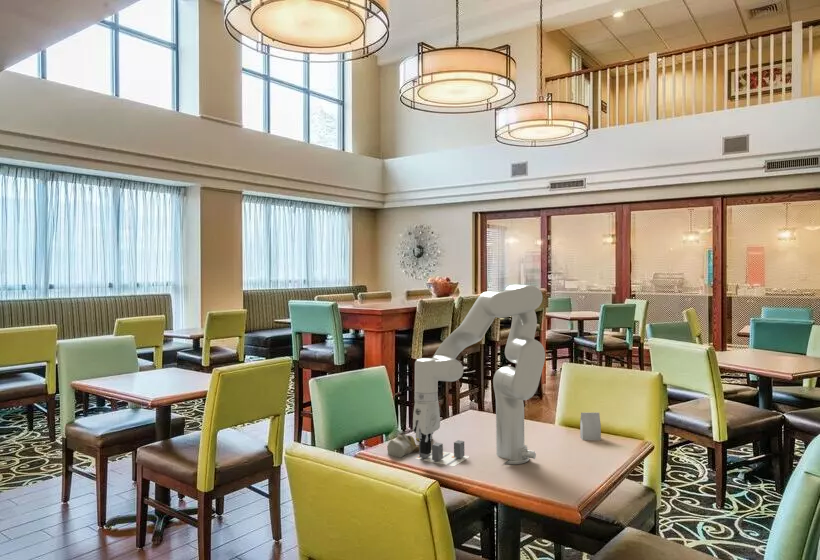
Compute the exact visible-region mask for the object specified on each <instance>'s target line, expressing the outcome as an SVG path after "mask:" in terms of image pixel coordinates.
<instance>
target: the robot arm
mask: <svg viewBox="0 0 820 560" xmlns="http://www.w3.org/2000/svg"><path fill="white" fill-rule="evenodd" d="M542 302H543V293H542V291H541V289H540V288H539V287H537V286H536V285H533V284H521V283H520V284H517V283H516V284H515V283H514V284H510V285H508V286H506V288H505V289H504V290H503V291H484V292H482V293H481V294H480V295H478V297H477V298H476V300H475V302H474V303H473V305H472V307H470V309H469V311H468V313H467V314H466V316H465V317H464V319H463V320H462V322H461V324H460V325H459V326H458V327H456V329H454V330H453V331H452V332H451V333H450V334H449V335H448V336H447V337H446V338H445V339H444V340H443V341H442V342H441V344H440V345H439V346H438V348H437V349H436V351H435V353H434V354H433V355H432V357H422V358H417V359H416V360H415V361H414V404H413V405H414V407H413V413H412V415H413V416H412V430H413V433H414V434H415V437H414V438H415V439H416V438H419V441H418V442H419V443H420V453H423V454H430V453H431V450H432V441H433V434H434V433H435V432H436V431H438V430H439V429H440V427H441V417H440V416H441V415H440V413H441V412H440V404H439V399H438V398H439V397H438V392H439V389H438V387H439V385H438V384H439V383H438V382H439V381H440V382H456V381H458V380H460V378H462V377H463V374H464V366H463V364H462V363H461V361H459V360H458V359H457V357H458V356H459V354H460V353H462V351H463V350H465V349H466V348H468V347H470V346H472V345H474V344H477V343H478V342H480V341H482V339H483V338H484V336H485V334H486V333H487V331H488V330H489V328H490V326H491V325H492V323H493V322H494V320H495V319H496V318H500V319H503V318H509V317H511V318H512V319H511V326H510V329H509V334H508V336H507V341H506V344H505V348H504V356H505V358H506V360H508V361H509V362H510V363H513V364H515V367H514V366H509V365H508V366H507V365H506V366H502V367H499V369H497V370H496V371H495V373H494V374H493V379H492V383H493V385H492V386H493V391H494V396H495V423H496V424H495V427H496V429H495V433H496V434H495V435H496V436H495V439H496V440H495V441H496V443H495V444H496V448H495V449H496V456H497V457H499V458H502V459H505V460H506V459H507V460H506V461H505V462H503V464H505V465H521V464H526V463H527V462H529V461H530V459H533V460H535V459H536V457H537V454H536V451H535V450H529V449H528V445H525V403H524V401H527V400H530V399H531V398H533V396H534V395H535V394H536V392H537V391H538V388H539V385H540V380H541V376H542V373H543V368H544V366H545V361H546V350H545V348H544V345H543V344H542V343H541V342H540V340H539V341H538V340H537V339H535V336H536V331H537V327H538V326H537V325H538V318H537V314H536V313H537V312H536V311H535V310H536V309H538V308H539V307H540V306H541V304H542Z"/></svg>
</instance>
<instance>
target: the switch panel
mask: <svg viewBox="0 0 820 560" xmlns="http://www.w3.org/2000/svg"><path fill="white" fill-rule="evenodd" d="M468 458H470V456H469V455H465V454H464V457H462V458H455V457H454V452H448V451H443V459H441V460H439V461H435V460H432V449H431V453H430V456H429V457H427V458H426V459H425V458H420V457H419V455H418V456H417V457H415V458H414V459H415V460H419V461H426V462H429V463H435V464H440V465H444V466H445V465H446V466H448V467H449V466H450V467H456V466H457V465H458V464H461V462H464V461H466V460H467V459H468Z"/></svg>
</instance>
